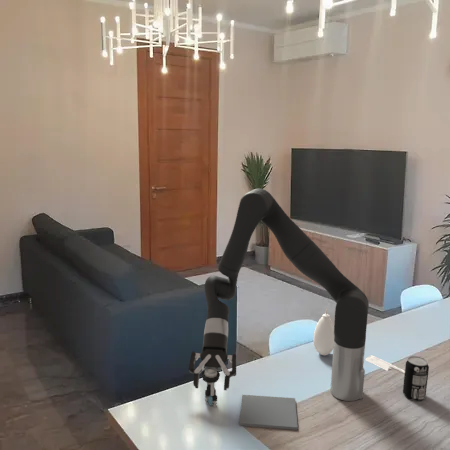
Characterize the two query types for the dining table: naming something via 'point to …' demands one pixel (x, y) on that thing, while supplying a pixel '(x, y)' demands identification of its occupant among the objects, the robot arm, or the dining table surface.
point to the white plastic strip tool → (383, 364)
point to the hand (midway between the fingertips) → (210, 388)
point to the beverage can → (415, 378)
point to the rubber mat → (268, 412)
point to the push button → (210, 385)
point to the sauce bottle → (324, 335)
